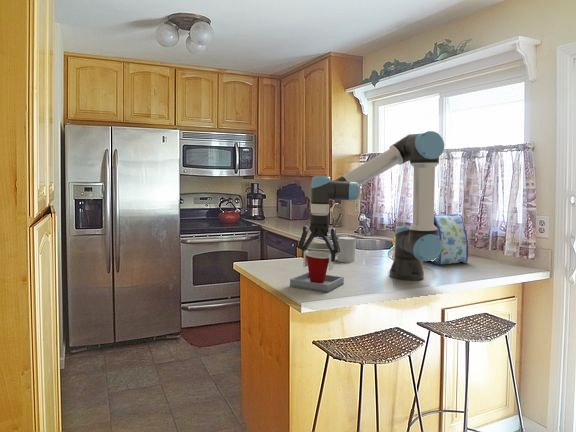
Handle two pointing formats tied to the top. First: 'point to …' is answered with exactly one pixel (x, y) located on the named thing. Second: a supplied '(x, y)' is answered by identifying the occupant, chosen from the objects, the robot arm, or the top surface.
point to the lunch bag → (451, 239)
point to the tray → (326, 287)
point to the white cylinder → (346, 249)
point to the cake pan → (319, 247)
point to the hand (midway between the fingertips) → (318, 267)
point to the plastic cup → (317, 265)
